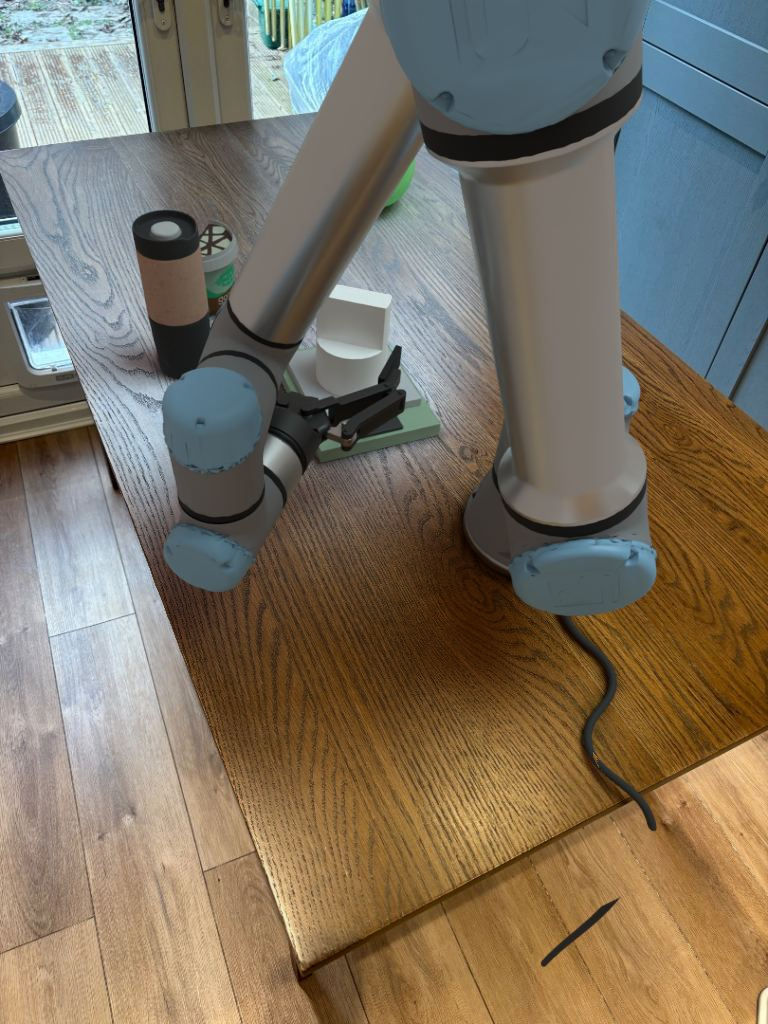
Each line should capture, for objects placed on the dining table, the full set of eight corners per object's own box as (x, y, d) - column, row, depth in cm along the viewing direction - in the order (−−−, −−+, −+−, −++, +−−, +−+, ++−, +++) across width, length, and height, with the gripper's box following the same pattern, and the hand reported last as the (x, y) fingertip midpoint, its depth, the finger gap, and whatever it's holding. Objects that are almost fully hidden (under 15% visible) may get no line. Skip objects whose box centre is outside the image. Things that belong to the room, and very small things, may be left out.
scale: (438, 435, 96) (442, 416, 94) (321, 463, 91) (321, 444, 89) (380, 345, 108) (381, 326, 106) (273, 365, 103) (272, 346, 101)
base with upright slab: (307, 389, 95) (306, 307, 86) (327, 348, 101) (328, 268, 92) (375, 403, 94) (381, 323, 86) (392, 362, 100) (399, 282, 91)
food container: (226, 329, 108) (219, 266, 101) (185, 321, 109) (176, 258, 101) (253, 284, 116) (249, 223, 109) (215, 277, 117) (208, 216, 109)
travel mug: (153, 351, 104) (126, 212, 89) (208, 342, 106) (191, 205, 91) (163, 385, 99) (135, 245, 84) (220, 375, 101) (204, 237, 86)
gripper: (163, 451, 80) (249, 341, 94) (385, 516, 76) (440, 392, 90) (152, 396, 74) (244, 288, 88) (390, 464, 70) (448, 340, 84)
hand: (343, 340), depth 89 cm, fingers open, 13 cm apart
